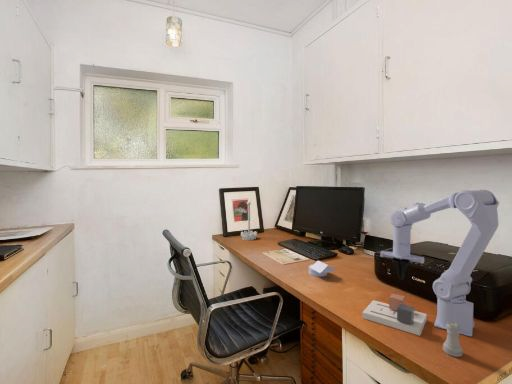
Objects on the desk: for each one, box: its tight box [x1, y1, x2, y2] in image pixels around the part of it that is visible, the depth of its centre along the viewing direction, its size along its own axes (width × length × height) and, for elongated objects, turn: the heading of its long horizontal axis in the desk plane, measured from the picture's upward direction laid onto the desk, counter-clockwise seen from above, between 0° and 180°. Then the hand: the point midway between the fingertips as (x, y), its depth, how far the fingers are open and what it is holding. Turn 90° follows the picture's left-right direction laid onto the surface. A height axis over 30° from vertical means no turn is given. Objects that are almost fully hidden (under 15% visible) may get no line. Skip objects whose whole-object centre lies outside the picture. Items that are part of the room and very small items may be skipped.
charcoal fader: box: [397, 304, 415, 324], centre depth 87 cm, size 4×4×4 cm
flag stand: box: [240, 201, 258, 241], centre depth 220 cm, size 13×13×30 cm
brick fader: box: [388, 293, 406, 311], centre depth 94 cm, size 4×4×4 cm
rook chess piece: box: [442, 321, 464, 358], centre depth 74 cm, size 4×4×8 cm
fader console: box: [361, 299, 428, 336], centre depth 92 cm, size 17×12×2 cm
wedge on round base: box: [308, 260, 336, 277], centre depth 136 cm, size 9×7×13 cm
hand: (401, 278), depth 103 cm, fingers closed
